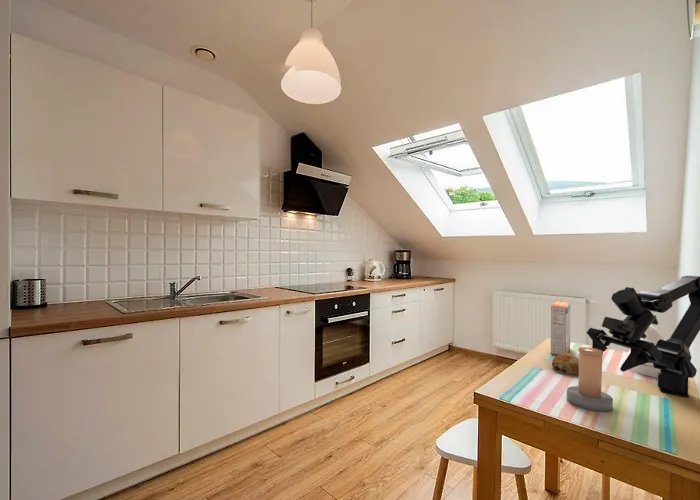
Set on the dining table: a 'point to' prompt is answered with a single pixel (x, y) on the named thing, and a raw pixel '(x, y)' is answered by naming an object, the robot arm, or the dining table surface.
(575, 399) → the round gray base plate
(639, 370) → the honey pot
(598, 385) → the tan cylindrical canister
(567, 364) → the bread roll
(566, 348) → the cracker box
